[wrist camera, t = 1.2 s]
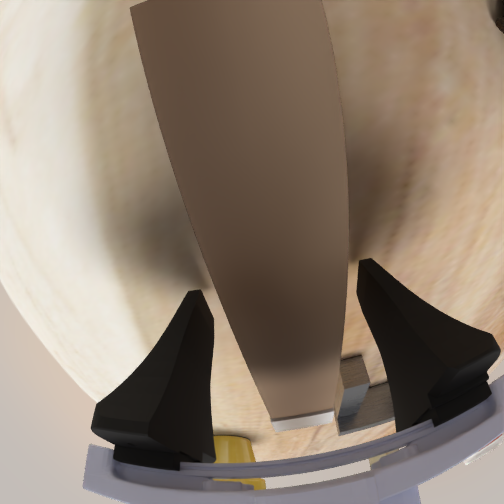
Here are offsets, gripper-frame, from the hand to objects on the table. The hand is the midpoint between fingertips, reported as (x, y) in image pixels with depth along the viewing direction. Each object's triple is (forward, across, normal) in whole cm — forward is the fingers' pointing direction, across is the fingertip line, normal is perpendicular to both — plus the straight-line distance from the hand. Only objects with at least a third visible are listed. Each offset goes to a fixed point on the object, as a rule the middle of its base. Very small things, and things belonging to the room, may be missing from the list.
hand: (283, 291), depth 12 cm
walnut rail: (+2, 0, -1) cm, 2 cm away
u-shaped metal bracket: (+1, -8, +14) cm, 17 cm away
